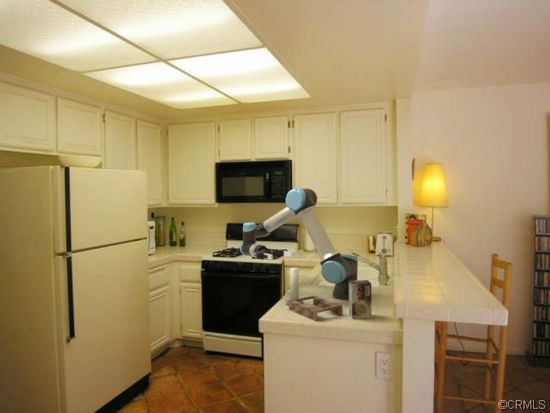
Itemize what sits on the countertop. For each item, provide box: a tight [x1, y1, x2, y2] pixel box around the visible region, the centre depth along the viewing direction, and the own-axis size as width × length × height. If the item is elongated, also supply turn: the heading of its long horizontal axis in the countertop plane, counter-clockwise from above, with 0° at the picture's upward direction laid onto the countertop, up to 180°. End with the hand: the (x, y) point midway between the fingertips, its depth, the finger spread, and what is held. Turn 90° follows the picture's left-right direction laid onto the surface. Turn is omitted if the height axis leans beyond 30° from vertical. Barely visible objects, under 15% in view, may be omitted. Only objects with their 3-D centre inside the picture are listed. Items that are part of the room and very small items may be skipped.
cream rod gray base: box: [285, 267, 304, 307], centre depth 196 cm, size 9×9×18 cm
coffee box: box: [348, 279, 373, 320], centre depth 176 cm, size 9×6×16 cm
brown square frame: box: [288, 295, 344, 322], centre depth 182 cm, size 20×16×4 cm
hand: (282, 256), depth 204 cm, fingers open, 13 cm apart
